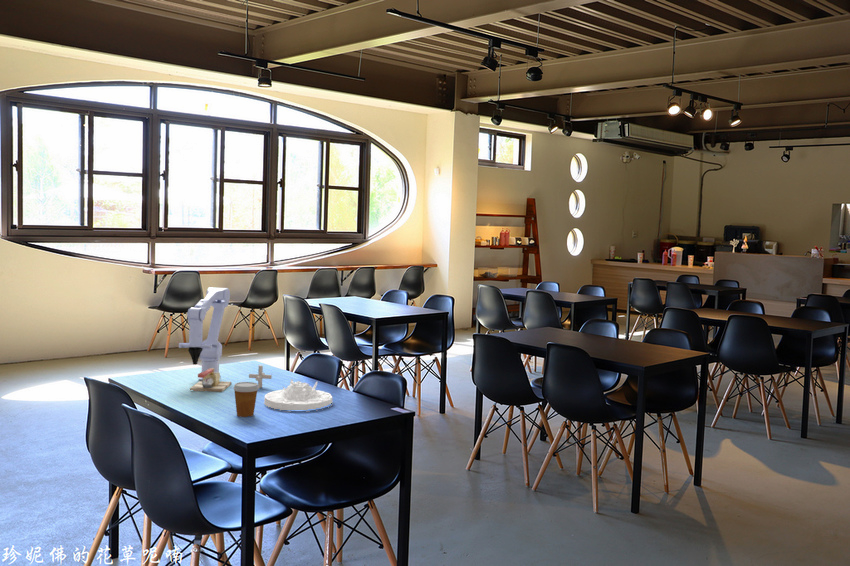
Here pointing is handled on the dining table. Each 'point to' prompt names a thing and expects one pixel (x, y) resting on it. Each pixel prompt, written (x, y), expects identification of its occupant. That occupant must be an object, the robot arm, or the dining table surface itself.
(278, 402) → the cake
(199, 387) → the mounting board
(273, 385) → the dining table surface
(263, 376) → the pipe connector
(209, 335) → the robot arm
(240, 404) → the disposable coffee cup
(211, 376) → the ball valve
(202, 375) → the lever
